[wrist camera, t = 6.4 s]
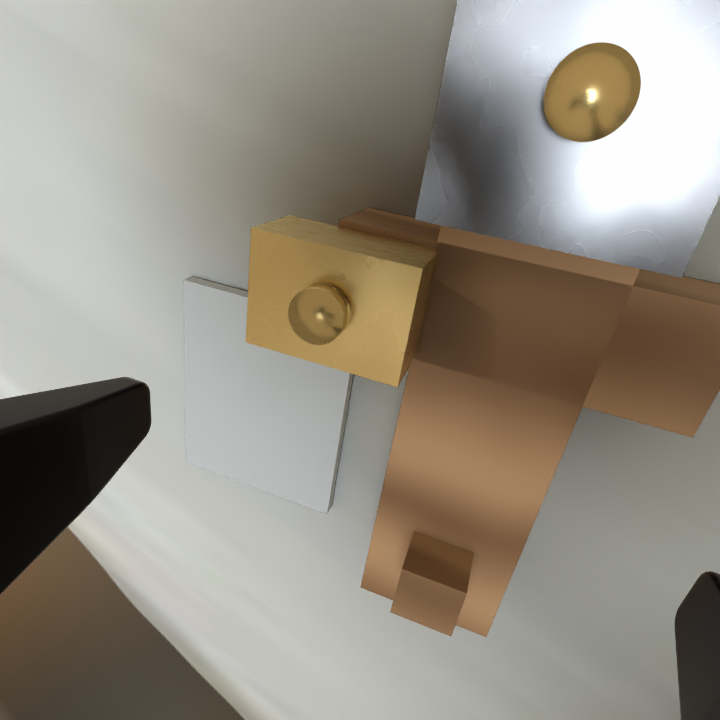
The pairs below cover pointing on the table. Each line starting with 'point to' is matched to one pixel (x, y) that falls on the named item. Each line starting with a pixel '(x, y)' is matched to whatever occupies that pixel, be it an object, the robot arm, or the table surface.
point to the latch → (338, 296)
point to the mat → (258, 404)
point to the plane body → (518, 402)
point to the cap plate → (580, 127)
